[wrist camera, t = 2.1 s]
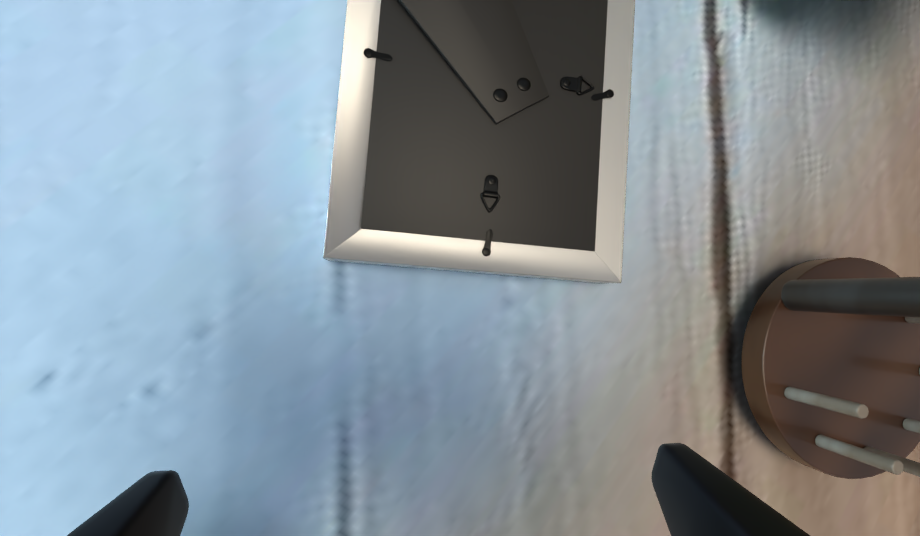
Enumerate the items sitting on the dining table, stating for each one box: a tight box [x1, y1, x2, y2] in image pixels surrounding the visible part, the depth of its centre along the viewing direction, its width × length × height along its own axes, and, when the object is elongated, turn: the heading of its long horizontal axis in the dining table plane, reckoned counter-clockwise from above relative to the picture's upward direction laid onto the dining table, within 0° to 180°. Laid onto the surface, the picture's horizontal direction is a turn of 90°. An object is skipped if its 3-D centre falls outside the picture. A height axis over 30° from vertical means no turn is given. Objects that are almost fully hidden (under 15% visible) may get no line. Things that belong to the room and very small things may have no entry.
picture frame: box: [323, 0, 635, 283], centre depth 23 cm, size 16×3×21 cm
